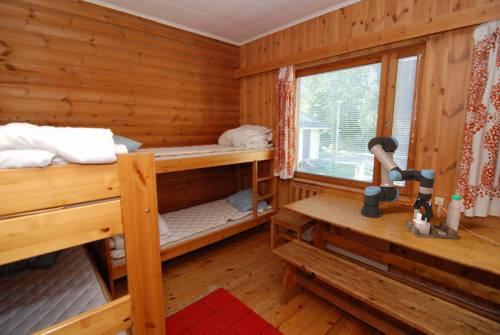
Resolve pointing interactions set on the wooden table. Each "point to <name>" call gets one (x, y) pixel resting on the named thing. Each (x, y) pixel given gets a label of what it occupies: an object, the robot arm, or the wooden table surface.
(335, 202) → the wooden table surface
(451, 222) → the water bottle
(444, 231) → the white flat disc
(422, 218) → the container
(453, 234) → the rack
